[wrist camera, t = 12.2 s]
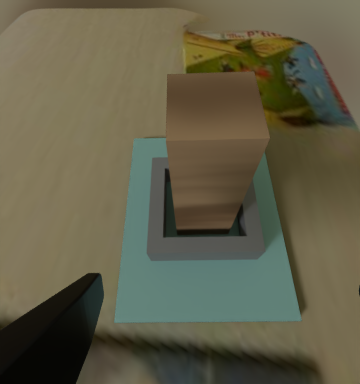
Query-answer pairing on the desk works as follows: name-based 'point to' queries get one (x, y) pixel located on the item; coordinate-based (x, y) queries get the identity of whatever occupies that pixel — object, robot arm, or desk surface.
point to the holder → (200, 254)
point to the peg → (212, 147)
